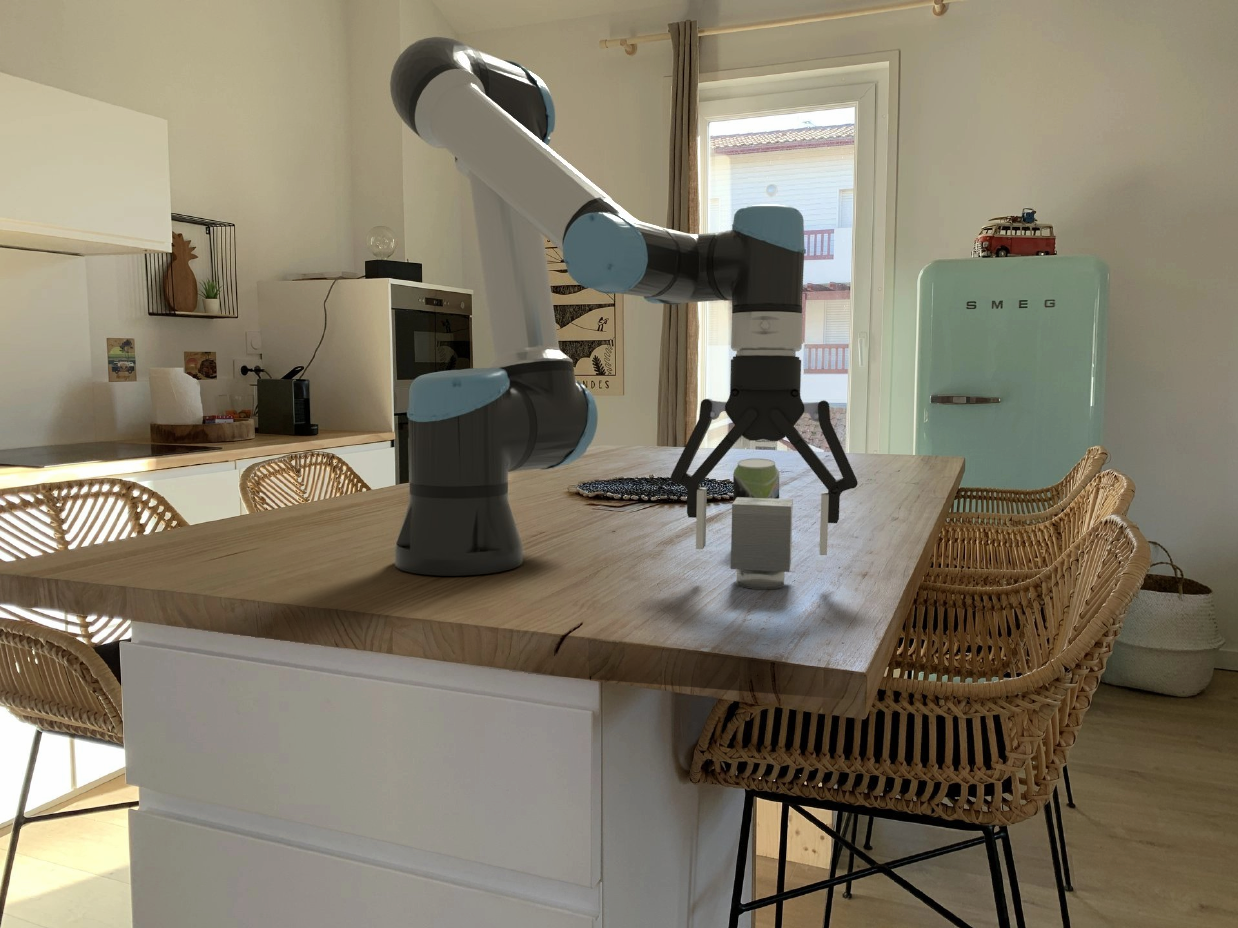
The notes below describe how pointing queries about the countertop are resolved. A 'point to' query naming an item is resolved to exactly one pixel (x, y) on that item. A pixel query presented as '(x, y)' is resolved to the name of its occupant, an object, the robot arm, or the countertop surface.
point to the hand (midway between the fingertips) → (761, 550)
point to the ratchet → (760, 579)
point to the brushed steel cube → (761, 534)
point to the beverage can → (756, 479)
